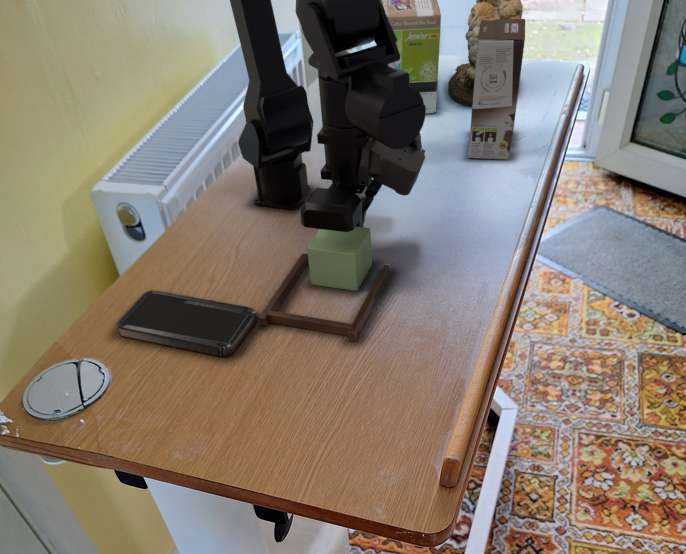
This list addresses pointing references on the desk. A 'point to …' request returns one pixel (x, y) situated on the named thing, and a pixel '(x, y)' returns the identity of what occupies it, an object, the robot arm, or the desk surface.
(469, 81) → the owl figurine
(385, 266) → the bay
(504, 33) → the coffee box
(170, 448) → the desk surface
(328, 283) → the block
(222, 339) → the phone
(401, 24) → the tea box
